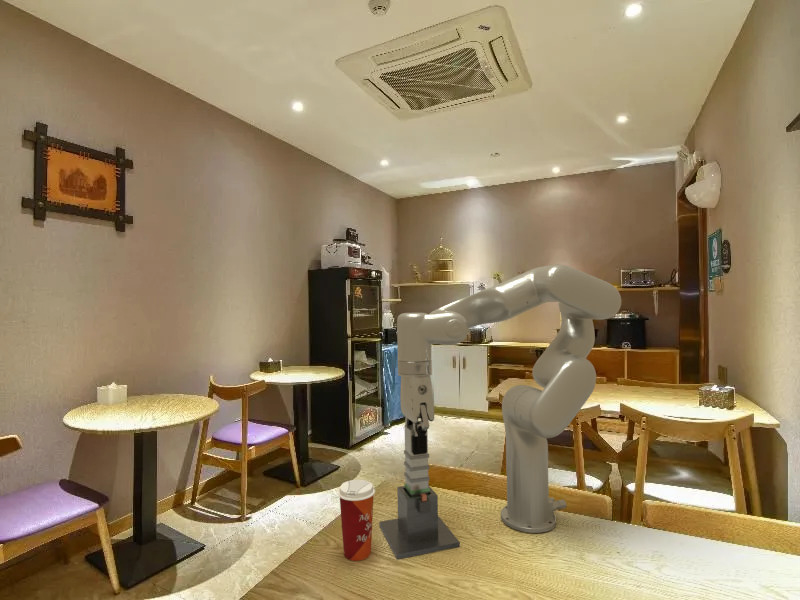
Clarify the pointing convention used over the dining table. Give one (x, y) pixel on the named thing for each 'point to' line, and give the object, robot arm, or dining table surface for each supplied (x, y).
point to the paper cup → (356, 518)
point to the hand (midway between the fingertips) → (416, 449)
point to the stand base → (417, 526)
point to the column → (415, 467)
